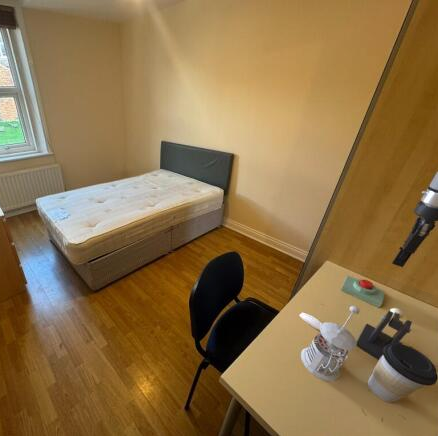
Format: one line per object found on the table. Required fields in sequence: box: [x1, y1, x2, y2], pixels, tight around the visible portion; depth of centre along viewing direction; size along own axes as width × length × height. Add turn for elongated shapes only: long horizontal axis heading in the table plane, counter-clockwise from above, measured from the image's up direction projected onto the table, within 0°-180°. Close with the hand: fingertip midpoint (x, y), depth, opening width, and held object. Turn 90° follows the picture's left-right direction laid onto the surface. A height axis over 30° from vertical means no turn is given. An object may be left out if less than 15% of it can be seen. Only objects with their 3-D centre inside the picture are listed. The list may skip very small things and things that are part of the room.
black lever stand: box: [356, 310, 413, 361], centre depth 70 cm, size 11×9×13 cm
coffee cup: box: [367, 343, 438, 404], centre depth 59 cm, size 9×9×15 cm
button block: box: [340, 275, 386, 309], centre depth 91 cm, size 12×9×4 cm
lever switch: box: [387, 307, 405, 332], centre depth 72 cm, size 15×3×3 cm, turn 128°
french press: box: [300, 305, 360, 382], centre depth 62 cm, size 10×12×25 cm
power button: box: [360, 279, 374, 289], centre depth 90 cm, size 4×4×2 cm
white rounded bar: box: [299, 312, 324, 331], centre depth 80 cm, size 3×8×3 cm, turn 36°
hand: (397, 264), depth 82 cm, fingers closed
